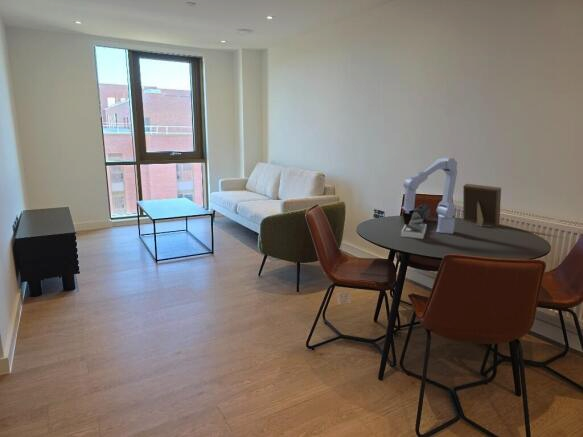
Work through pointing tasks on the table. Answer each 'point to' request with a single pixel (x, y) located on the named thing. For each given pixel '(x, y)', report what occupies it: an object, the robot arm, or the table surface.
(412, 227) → the near rocker
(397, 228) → the table surface
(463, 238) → the table surface
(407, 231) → the switch panel
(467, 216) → the photo frame
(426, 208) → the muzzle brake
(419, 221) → the far rocker
